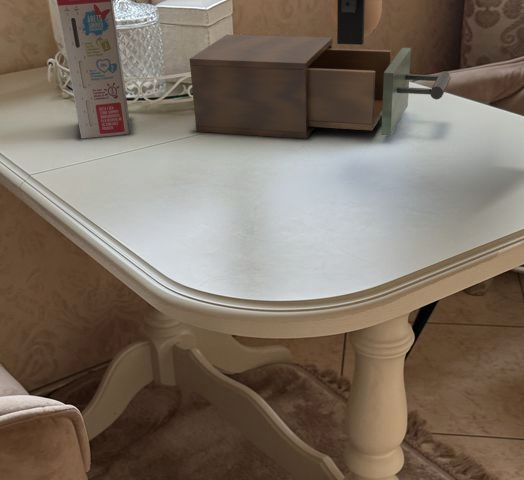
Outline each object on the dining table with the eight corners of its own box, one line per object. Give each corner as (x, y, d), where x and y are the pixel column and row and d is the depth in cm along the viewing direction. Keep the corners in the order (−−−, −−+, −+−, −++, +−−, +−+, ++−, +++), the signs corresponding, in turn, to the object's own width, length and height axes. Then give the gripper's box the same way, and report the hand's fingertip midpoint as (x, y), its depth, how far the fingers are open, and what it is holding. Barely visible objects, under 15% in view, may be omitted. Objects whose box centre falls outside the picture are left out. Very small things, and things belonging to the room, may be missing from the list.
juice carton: (129, 118, 114) (105, -51, 101) (130, 133, 108) (104, -44, 96) (82, 123, 113) (53, -48, 101) (81, 138, 108) (49, -40, 95)
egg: (321, 42, 86) (321, -29, 82) (347, 31, 90) (348, -37, 86) (364, 47, 84) (367, -25, 80) (389, 36, 87) (392, -34, 83)
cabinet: (332, 107, 114) (332, 37, 108) (306, 138, 103) (305, 63, 98) (231, 101, 118) (226, 34, 113) (196, 131, 108) (189, 58, 102)
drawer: (450, 108, 108) (455, 49, 104) (436, 138, 98) (441, 75, 94) (307, 100, 114) (306, 44, 110) (281, 129, 104) (279, 68, 100)
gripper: (343, -221, 82) (341, 17, 95) (296, -225, 67) (301, 57, 80) (416, -226, 80) (404, 18, 93) (383, -231, 65) (374, 59, 78)
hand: (356, 36), depth 87 cm, fingers closed on egg, 5 cm apart
